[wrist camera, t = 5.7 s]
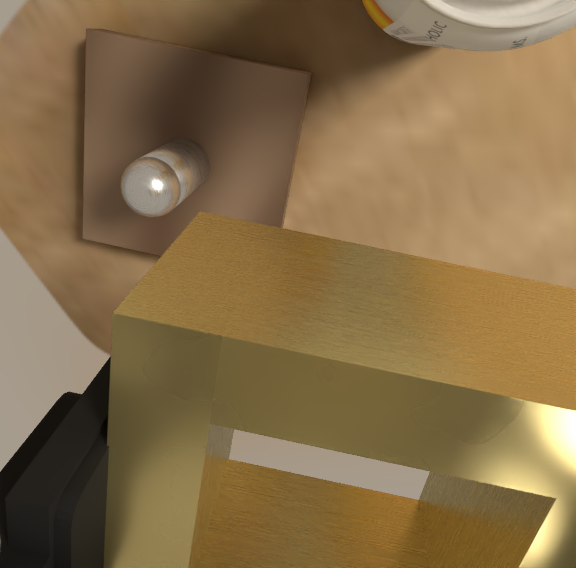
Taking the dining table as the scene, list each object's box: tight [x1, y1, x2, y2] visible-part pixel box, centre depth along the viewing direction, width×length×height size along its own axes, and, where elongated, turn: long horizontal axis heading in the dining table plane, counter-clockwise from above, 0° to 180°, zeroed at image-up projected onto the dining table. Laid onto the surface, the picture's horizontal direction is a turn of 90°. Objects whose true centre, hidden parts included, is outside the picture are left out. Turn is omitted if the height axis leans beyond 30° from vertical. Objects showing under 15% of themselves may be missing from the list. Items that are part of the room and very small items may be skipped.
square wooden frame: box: [103, 211, 576, 568], centre depth 9 cm, size 7×7×4 cm
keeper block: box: [83, 29, 312, 256], centre depth 24 cm, size 10×10×7 cm
